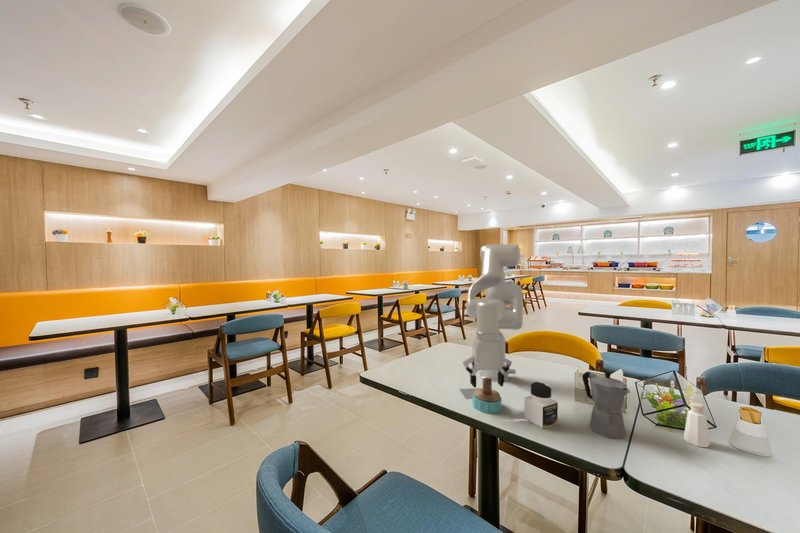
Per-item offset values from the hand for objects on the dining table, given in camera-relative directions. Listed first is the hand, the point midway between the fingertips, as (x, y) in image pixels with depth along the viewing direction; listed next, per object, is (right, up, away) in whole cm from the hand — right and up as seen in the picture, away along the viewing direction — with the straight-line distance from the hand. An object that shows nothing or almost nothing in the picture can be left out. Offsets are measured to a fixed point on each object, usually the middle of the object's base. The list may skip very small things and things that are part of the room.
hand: (487, 385), depth 107 cm
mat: (-2, -8, +11) cm, 14 cm away
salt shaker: (+54, -9, -20) cm, 58 cm away
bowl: (0, -8, 0) cm, 8 cm away
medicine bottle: (+15, -8, -9) cm, 19 cm away
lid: (0, -4, 0) cm, 4 cm away
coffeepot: (+32, -9, -13) cm, 36 cm away
